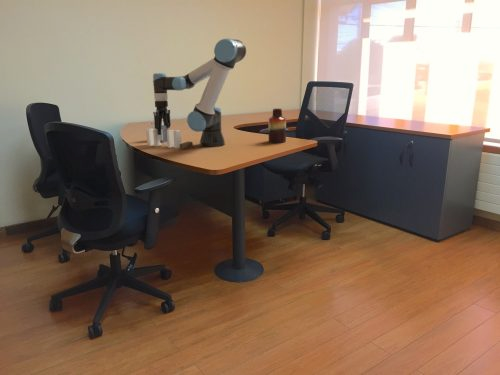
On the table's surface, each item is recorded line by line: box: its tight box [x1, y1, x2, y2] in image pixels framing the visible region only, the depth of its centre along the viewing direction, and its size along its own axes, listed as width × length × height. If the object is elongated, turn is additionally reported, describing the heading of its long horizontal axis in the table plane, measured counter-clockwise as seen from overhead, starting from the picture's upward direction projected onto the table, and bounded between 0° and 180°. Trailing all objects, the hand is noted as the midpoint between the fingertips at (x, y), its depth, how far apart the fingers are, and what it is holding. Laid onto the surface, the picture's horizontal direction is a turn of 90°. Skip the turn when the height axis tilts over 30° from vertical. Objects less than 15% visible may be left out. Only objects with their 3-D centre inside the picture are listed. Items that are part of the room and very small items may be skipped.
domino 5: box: [173, 129, 182, 149], centre depth 251 cm, size 2×5×10 cm, turn 154°
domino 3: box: [160, 125, 167, 144], centre depth 255 cm, size 2×5×10 cm, turn 154°
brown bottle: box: [268, 108, 287, 144], centre depth 263 cm, size 11×11×20 cm
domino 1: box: [145, 128, 154, 147], centre depth 260 cm, size 2×5×10 cm, turn 154°
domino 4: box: [166, 129, 175, 149], centre depth 253 cm, size 2×5×10 cm, turn 154°
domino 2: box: [153, 129, 162, 147], centre depth 258 cm, size 2×5×10 cm, turn 154°
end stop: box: [179, 141, 194, 150], centre depth 250 cm, size 3×9×3 cm, turn 154°
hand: (163, 139), depth 256 cm, fingers closed on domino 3, 5 cm apart
